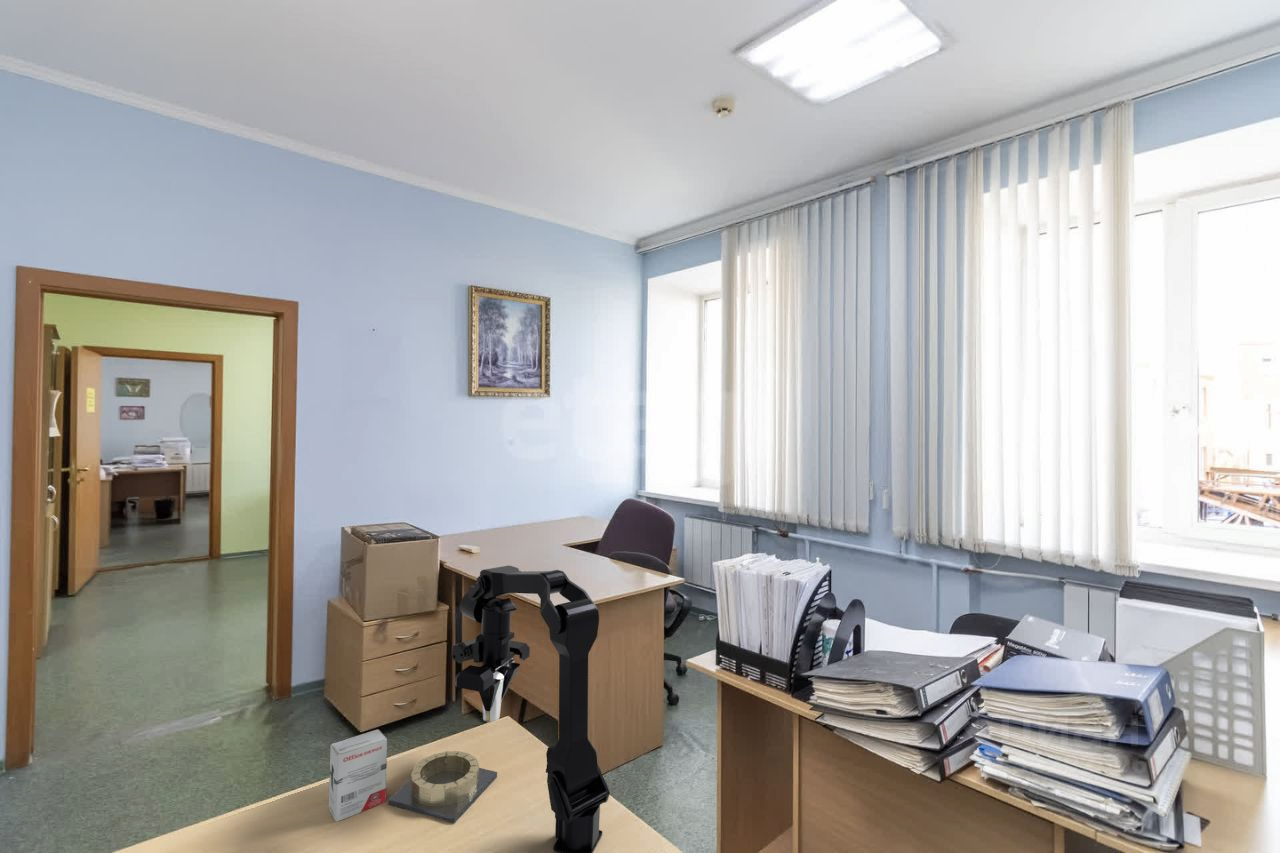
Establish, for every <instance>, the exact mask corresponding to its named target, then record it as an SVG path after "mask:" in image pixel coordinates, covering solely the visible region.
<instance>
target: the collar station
mask: <svg viewBox="0 0 1280 853" xmlns="http://www.w3.org/2000/svg"><path fill="white" fill-rule="evenodd" d="M497 778H498V771H495V770H490V769H486V768H482V767H480V763H479V761H478V759H477V758H476V757H475V756H473V755H472V754H471V753H468V752H464V751H460V750H459V751H458V750H457V751H455V750H453V751H452V750H451V751H449V750H448V751H447V750H446V751H443V752H442V751H441V752H438V753H434V754H431V755H429V756H428V757H425V758H423V759H421V761H419V762H418V763H417V764H415V766H414V767H413V769H412V772H411V774H410V780H409V781H408V782H406V783H405V784H404V785H403V786H402V787H401V788H400V789H399V790H397V791H396V792H395V793H394V794H393V795H392V796H390V797H389V798H388V800H387V805H388V806H392V807H396V808H399V809H402V810H405V811H409V812H414V813H416V814H420V815H424V816H428V817H431V818H435V819H439V820H443V821H445V822H449V823H453V824H456V822H458V820H459V819H460V818H461V817H462V816H463V814H465V813H466V812H467V811H468V810H469V808H471V806H472V805H473V804H474V803H476V801H477V799H479V797H480V796H481V795H482V794H483V793H484V792H485V791H486V790H487V789H488V788H489V787H490V786H491V785H492V783H493V782H494V781H495V780H496V779H497Z"/></svg>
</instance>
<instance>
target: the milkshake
mask: <svg viewBox="0 0 1280 853" xmlns="http://www.w3.org/2000/svg"><path fill="white" fill-rule="evenodd" d="M507 671H508V670H507ZM507 671H506V673H507ZM506 673H505V675H506ZM504 677H505V676H503V674H501V673H499V672H497V671H496V674H495V679H500V680H501V681H500V684H499V687H498V690H497V693H496V696H495V700H494V703H493V706H492V708H491V711H485V709H484V706H483V703H482V719H483V721H485V722H489V723H492V722H496V721H498V720H499V719H500V716H501V708H502V707H501V706H502V701H501V699H502V691H503V683H504Z"/></svg>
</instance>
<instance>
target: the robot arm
mask: <svg viewBox="0 0 1280 853" xmlns="http://www.w3.org/2000/svg"><path fill="white" fill-rule="evenodd" d="M556 593H557V594H558V593H559V594H560V595H561V597H564V599H566V600H567V602H564V603H559V604H556V605H554V603H553V601H552V600H551V595H552V594H556ZM512 594H531V595H532V594H533V595H534V594H535V595H538V597H539V599H540V604H539V605H540V606H539V607H540V608H539V610H540V611H539V612H540V616H541V617H542V619H543V621H544V622H545V624H546V625H547V627H548V629H549V639H550V641H551V643H552V645H553V646H554V649H556V651H557V652H558V658H559V659H558V662H559V663H558V665H559V666H558V668H559V669H558V740H557V742H556V743H555V744H554V745H551V746H549V747H547V750H546V756H545V757H546V768H545V773H546V774H547V775H546V776H547V777H546V778H547V779H546V782H547V783H546V784H547V789H548V790H547V791H548V798H549V803H550V809H551V811H552V812H553V813H554V819H555V827H554V828H555V832H554V838H555V839H556V841H555V842H554V845H553V846H552V847H553V851H554V852H558V853H594V851H595V850H596V848H597V846H598V844H599V842H600V840H601V838H602V837H603V831H602V830H600V818H601V817H600V814H601V812H600V811H601V805H603V804H604V803H607V802H608V801H609V797H610V794H611V793H610V792H611V791H610V789H609V787H608V784H607V782H606V780H605V778H604V775H603V773H602V771H601V768H600V766H599V763H598V762H599V761H598V752H597V750H596V748H594V745H593V744H592V742H591V741H590V740H589V653H590V651H591V649H592V647H593V646H594V644H595V641H596V640H597V637H598V632H599V625H600V624H599V623H600V611H599V609H598V607H597V605H596V604H595V602H594V601H593V600H592V598H591V597H590V595H589V594H588V592H587V590H585V589H584V588H582V587H581V586H579V585H578V584H576V583H575V582H573V581H571V580H570V579H569V577H568V575H567V574H566V573H565V572H564V571H563V570H560V569H553V570H541V571H540V570H537V571H535V570H531V571H530V570H529V571H525V570H524V571H523V570H522V571H521V570H520V569H519V568H518V567H516V566H513V565H504V566H498V567H490V568H485V569H481V570H480V572H479V576H478V577H477V578H476V580H475V582H474V584H473V585H469V586H468V592H466V593H465V594H464V595H463V596H462V598H461V600H460V603H459V610H460V613H461V614H462V615H463V616H465V617H466V618H469V619H470V620H472V621H474V622H476V623H479V624H481V634H478V635H477V636H476V637H475V638H473V639H469V640H466V641H461V642H460V643H459V642H457V643H455V644H453V645H452V647H451V654H450V655H451V658H452V660H453V661H454V662H457V663H458V664H462V663H463V662H466V661H467V662H468V661H471V660H473V663H475V664H481V665H480V666H476V665H471V664H470V665H468V666H467V667H465V668H464V669H461V671H459V672H458V673H457V674H456V675H455V683H454V684H455V688H458V689H464V690H469V691H473V692H478V693H479V696H480V699H481V702H482V703H483V704H482V707H483V706H484V709H485V711H491V708H492V706H493V703H494V700H495V696H496V693H497V690H498V687H499V684H500V681H501V680H500V679H495V674H496V671H497V672H499V673H501V674H503V676H505V677H504V683H503V691H502V699H501V702H502V701H503V699H504V697H505V695H506V693H507V692H508V690H509V687H510V685H511V683H512V681H513V679H514V677H515V676H516V674H517V672H518V669H519V668H521V664H520V663H517V662H515V659H514V657H515V656H516V655H517V656H519V660H520V661H522V662H523V661H525V660H527V659H528V658H530V654H531V653H530V652H531V650H530V648H531V647H530V646H529V645H528V643H526V642H521V641H515V640H513V639H514V638H515V632H514V631H511V627H512V626H511V624H512V623H511V620H512V612H514V611H517V607H516V605H515V603H513V601H512V600H511V598H510V597H507V598H501V596H507V595H512ZM507 670H508V671H507ZM506 671H507V673H506ZM505 673H506V675H505Z"/></svg>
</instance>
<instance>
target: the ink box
mask: <svg viewBox="0 0 1280 853" xmlns="http://www.w3.org/2000/svg"><path fill="white" fill-rule="evenodd" d="M329 756H330V757H329V761H330V762H329V783H328V785H329V786H328V787H329V789H328V810H329V812H330V814H331V816H332V817H333V819H334V822H336V823H337V822H340V821H342V820H345V819H348V818H350V817H353V816H355V815H357V814H359V813H362V812H364V811H367V810H369V809H372V808H375V807H377V806H379V805H383V804H384V803H386V802H387V773H388V772H387V771H388V770H387V769H388V767H387V765H388V763H387V761H388V738H387V737H386V736H385V734H384V733H382V731H381V730H380V729H374V730H371V731H368V732H366V733H365V732H364V733H362V734H359V735H356V736H352V737H349V738H346V739H344V740H340V741H337V742H334V743H331V744H330V752H329Z"/></svg>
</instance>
